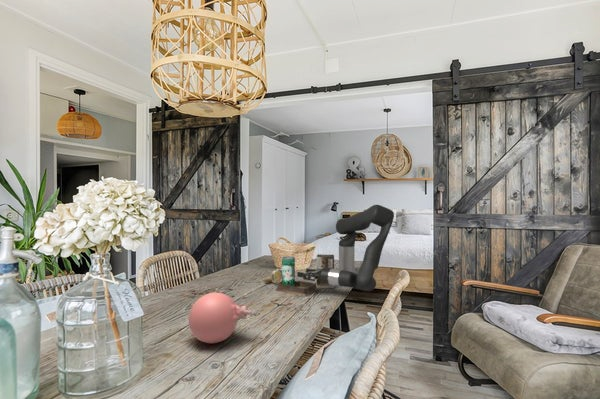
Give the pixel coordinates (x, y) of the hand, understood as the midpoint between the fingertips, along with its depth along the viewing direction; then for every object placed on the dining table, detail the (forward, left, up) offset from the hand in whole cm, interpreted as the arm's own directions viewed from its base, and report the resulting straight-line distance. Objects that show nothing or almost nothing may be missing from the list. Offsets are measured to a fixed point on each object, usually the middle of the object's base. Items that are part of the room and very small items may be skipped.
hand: (302, 272), depth 160 cm
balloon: (+61, +5, -9) cm, 62 cm away
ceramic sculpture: (-7, -19, -10) cm, 22 cm away
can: (0, -8, -9) cm, 12 cm away
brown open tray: (0, -3, -9) cm, 10 cm away
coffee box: (-14, +6, -9) cm, 18 cm away
